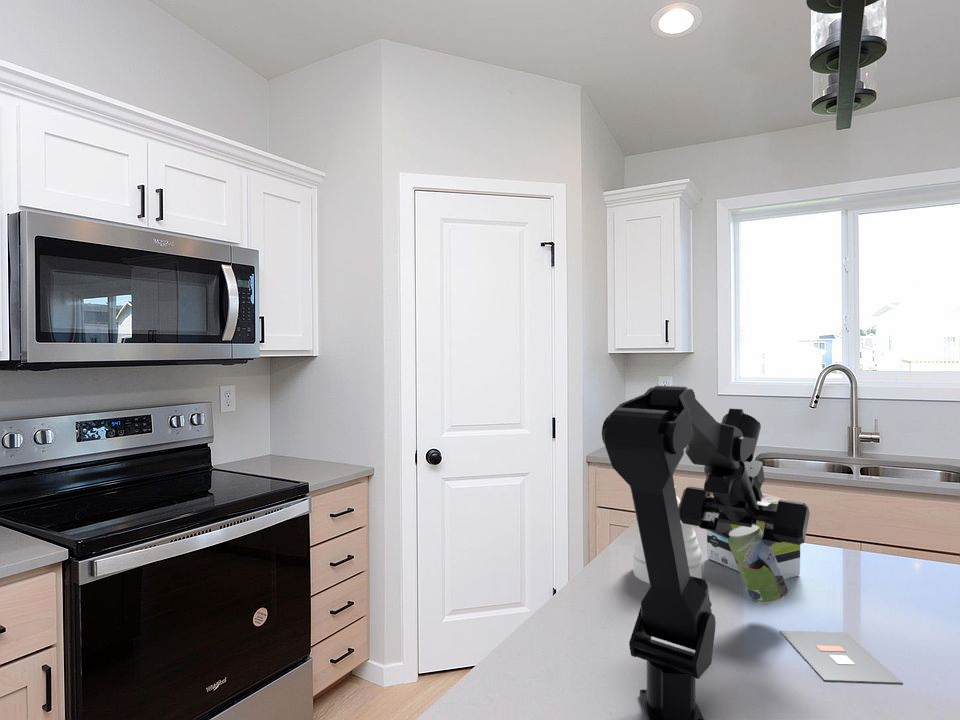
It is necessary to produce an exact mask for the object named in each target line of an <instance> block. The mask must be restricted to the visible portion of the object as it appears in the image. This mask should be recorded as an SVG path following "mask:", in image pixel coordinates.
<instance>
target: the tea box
mask: <svg viewBox="0 0 960 720" xmlns="http://www.w3.org/2000/svg"><path fill="white" fill-rule="evenodd" d="M762 495H763V496H762V500H761V502H759V501H758V502H757V504H758V505H762V506H768V505H769V504H771V503H774V504H778V501H779V500H787V501H792V500H790V499H786V498H784V497H779V496H775V495H771V494H768V493H766V492H765V493H764V492H762ZM709 497H714V495H713V493H711V494H710V496H709ZM707 498H708V497H707ZM730 525H731V527H732V529H735V528H737V527H740V525H734V524H730ZM756 525H758V526H759V527H760V529H762V530H763V531H764V528H765V525H764V521H758V520H757V523H756ZM728 540H729V539H727V538H724V537H722V536H720V535H718V534H716V533H713V532H711V531H708V530H706V558H707V560H709V561H710V560H711V561H714V562H716V563H719V564H721V565H724V566H725V567H727V568H729V569H732V570H734V571H737V572H739V573H740V571H739V569H738V566H737V564H736V561H735V559H734V556H733V554H732V551H731V549H730V546H729V543H728ZM771 547H772V550H773V552H774V555H775V557H776V560H777V562H778V565H779V567H780V570H781V572H782V575H783V578H784V580H786V579H785V578H787V579H789V578H788V577H791V578H794V577H793V576H795V577H797V576H796V575H798V576H800V573H801V544H800V545H797V544H792V543H786V542H782V543H777V542H776V543H774V544H772V546H771Z"/></svg>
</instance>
